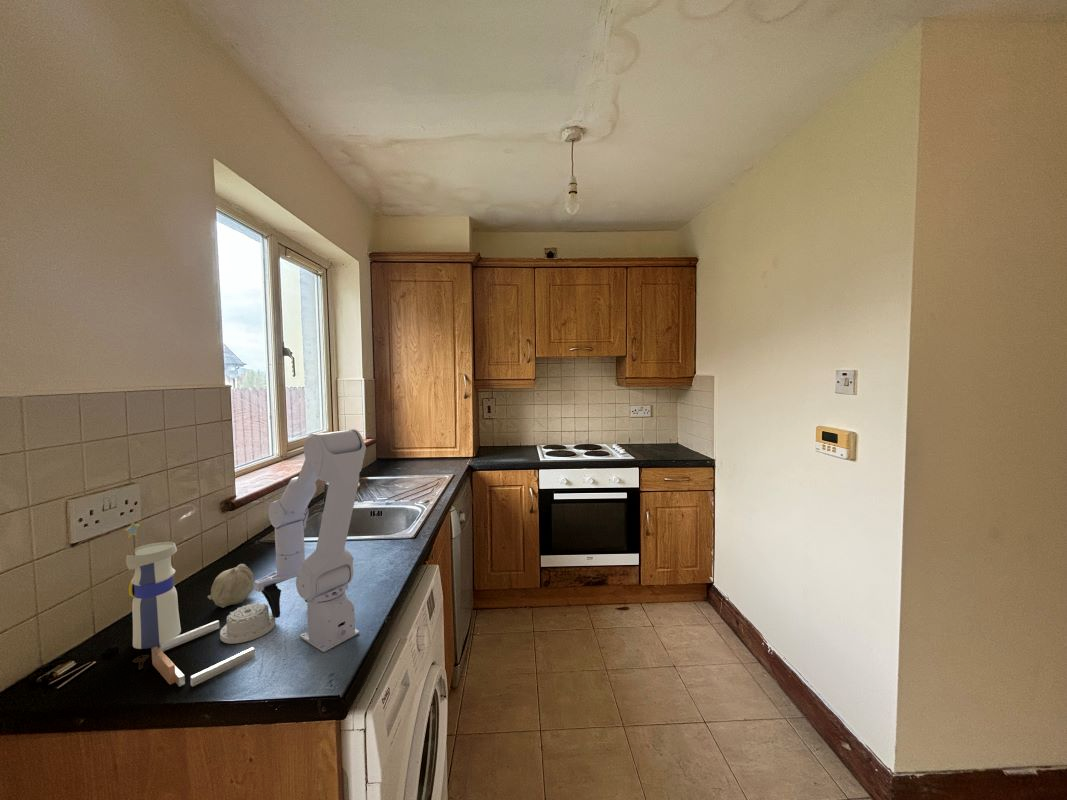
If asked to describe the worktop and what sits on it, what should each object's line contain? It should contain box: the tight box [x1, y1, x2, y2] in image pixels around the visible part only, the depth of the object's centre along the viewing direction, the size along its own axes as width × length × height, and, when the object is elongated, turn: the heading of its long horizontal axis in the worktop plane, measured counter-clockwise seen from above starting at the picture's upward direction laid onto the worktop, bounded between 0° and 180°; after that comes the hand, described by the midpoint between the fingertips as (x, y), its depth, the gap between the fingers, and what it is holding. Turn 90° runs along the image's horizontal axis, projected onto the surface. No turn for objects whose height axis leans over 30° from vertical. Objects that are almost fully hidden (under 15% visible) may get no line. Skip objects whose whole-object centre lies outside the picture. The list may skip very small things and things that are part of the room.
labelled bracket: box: [150, 620, 256, 687], centre depth 84 cm, size 18×12×3 cm
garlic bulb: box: [207, 563, 255, 609], centre depth 105 cm, size 9×8×10 cm
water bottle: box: [125, 521, 182, 650], centre depth 90 cm, size 8×9×25 cm
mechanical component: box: [219, 602, 276, 644], centre depth 93 cm, size 10×4×10 cm
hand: (292, 608), depth 99 cm, fingers open, 7 cm apart
